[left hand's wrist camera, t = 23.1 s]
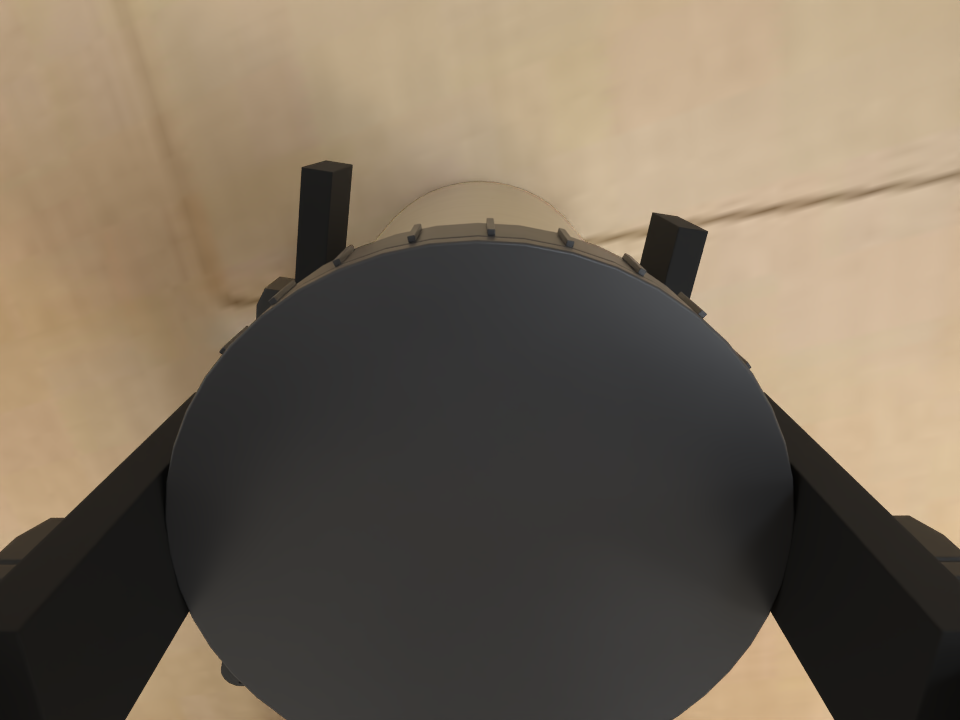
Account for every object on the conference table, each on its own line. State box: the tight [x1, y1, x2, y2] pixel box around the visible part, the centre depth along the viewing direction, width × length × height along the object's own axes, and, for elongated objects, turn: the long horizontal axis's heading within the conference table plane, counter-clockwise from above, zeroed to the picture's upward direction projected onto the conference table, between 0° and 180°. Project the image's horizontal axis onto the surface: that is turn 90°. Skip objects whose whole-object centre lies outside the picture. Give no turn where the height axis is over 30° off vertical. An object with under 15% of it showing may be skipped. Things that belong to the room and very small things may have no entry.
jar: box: [374, 181, 584, 242], centre depth 18 cm, size 9×9×15 cm
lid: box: [165, 218, 795, 720], centre depth 11 cm, size 10×10×2 cm
